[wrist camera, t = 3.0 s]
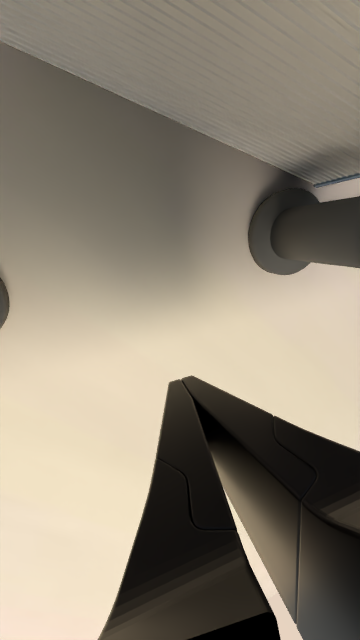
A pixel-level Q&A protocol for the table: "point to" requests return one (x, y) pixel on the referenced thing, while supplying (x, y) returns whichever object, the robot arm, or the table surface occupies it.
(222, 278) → the table surface
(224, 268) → the table surface
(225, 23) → the grey slotted box
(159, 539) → the robot arm
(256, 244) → the cord posts
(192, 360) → the table surface
